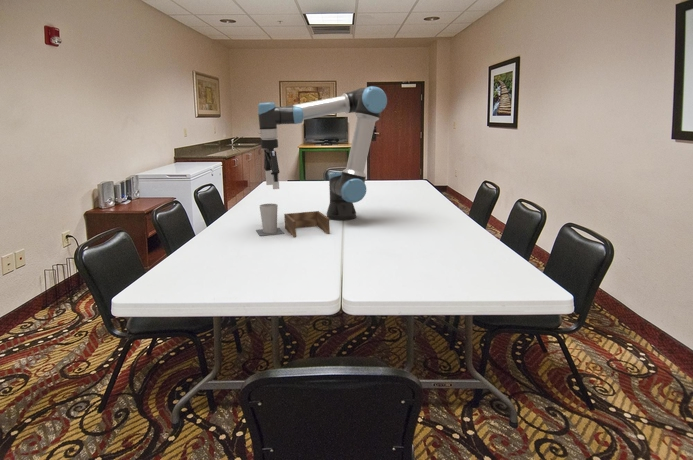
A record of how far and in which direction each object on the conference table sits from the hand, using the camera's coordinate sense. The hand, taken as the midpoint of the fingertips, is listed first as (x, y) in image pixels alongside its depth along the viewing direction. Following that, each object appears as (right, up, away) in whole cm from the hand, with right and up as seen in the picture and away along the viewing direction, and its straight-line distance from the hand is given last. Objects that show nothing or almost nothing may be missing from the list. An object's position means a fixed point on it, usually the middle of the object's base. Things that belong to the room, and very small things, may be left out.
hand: (272, 186), depth 214 cm
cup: (-1, -20, +1) cm, 20 cm away
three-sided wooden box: (+15, -20, +2) cm, 25 cm away
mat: (-1, -20, +1) cm, 20 cm away
